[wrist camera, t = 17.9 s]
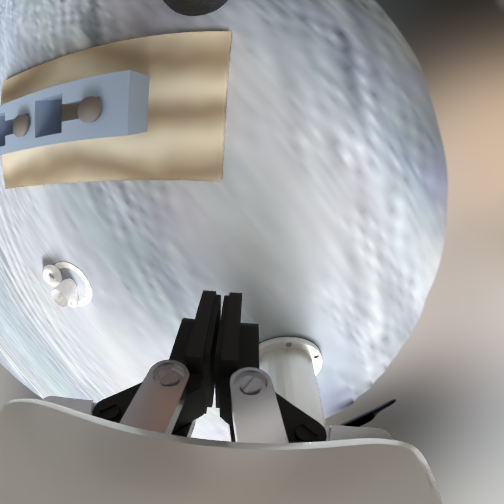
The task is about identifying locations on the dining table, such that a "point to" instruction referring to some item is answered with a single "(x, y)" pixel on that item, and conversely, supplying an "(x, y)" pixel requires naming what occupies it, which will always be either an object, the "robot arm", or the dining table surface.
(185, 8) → the travel mug
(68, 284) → the white curved piece
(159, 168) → the board
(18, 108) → the blue slotted peg holder
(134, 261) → the dining table surface
